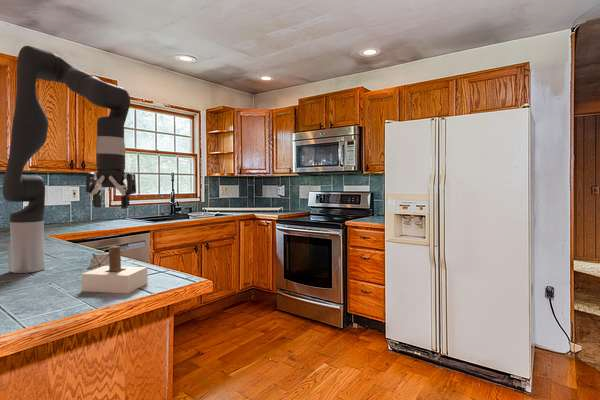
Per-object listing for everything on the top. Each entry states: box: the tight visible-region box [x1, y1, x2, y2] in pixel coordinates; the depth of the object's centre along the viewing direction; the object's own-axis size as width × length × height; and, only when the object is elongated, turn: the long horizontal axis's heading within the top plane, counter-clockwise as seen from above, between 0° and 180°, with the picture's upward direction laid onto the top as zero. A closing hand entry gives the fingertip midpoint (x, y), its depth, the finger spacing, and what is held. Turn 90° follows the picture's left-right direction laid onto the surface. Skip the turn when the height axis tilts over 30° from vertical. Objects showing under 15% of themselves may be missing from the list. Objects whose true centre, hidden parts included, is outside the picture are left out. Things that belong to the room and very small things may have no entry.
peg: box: [108, 245, 122, 273], centre depth 102 cm, size 3×3×12 cm
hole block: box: [81, 265, 149, 294], centre depth 102 cm, size 14×10×5 cm
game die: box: [86, 250, 109, 271], centre depth 114 cm, size 9×8×10 cm
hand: (111, 208), depth 102 cm, fingers open, 8 cm apart
